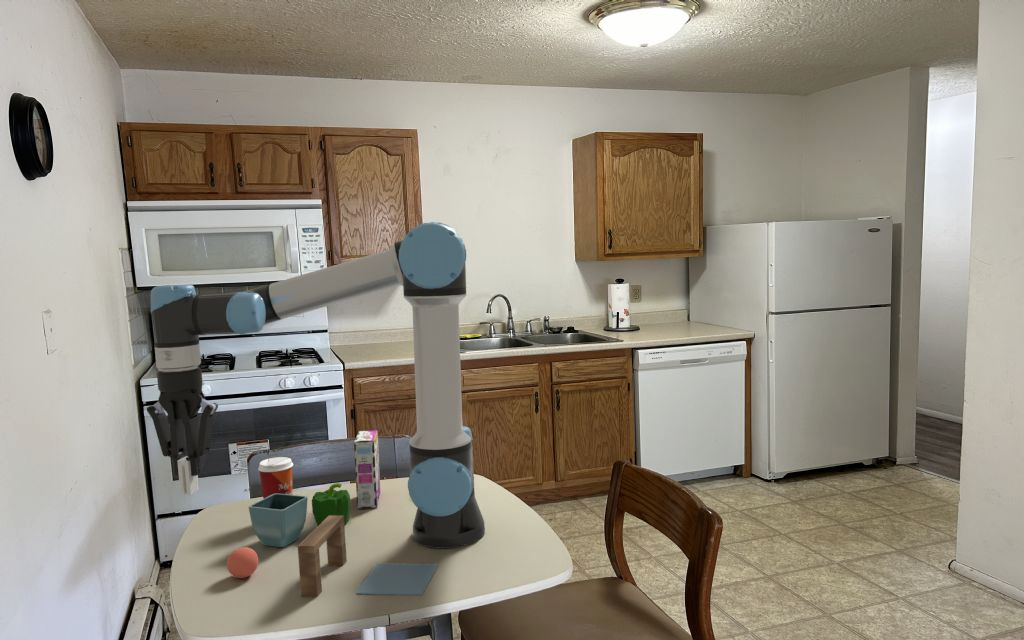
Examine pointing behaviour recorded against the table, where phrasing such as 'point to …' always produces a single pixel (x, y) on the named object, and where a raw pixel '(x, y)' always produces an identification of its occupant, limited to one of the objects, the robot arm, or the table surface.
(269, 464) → the paper cup
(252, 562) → the ball
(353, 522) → the table surface
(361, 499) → the candy bar box
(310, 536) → the bridge
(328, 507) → the bell pepper
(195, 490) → the robot arm
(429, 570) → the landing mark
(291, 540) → the flower pot
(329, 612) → the table surface
